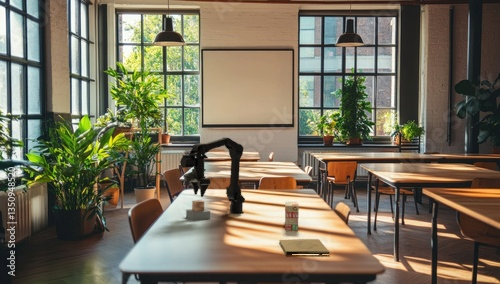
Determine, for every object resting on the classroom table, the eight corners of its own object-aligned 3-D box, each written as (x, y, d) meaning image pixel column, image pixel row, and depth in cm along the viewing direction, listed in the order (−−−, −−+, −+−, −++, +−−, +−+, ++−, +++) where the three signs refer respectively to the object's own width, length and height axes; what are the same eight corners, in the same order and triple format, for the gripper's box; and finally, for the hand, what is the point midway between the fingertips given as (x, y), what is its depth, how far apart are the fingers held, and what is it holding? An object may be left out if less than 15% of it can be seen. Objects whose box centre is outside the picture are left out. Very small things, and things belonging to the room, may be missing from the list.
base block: (203, 215, 276) (203, 208, 276) (210, 218, 267) (210, 211, 267) (186, 216, 271) (186, 209, 271) (192, 220, 263) (192, 212, 262)
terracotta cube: (200, 209, 273) (200, 200, 272) (204, 210, 268) (204, 201, 268) (192, 209, 270) (192, 200, 270) (195, 211, 266) (195, 202, 266)
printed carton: (284, 221, 262) (285, 198, 262) (296, 222, 262) (297, 198, 261) (285, 230, 241) (285, 205, 240) (298, 230, 240) (298, 205, 240)
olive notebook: (279, 243, 215) (279, 238, 215) (319, 244, 216) (319, 238, 216) (285, 257, 194) (285, 251, 194) (329, 257, 195) (329, 251, 195)
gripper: (179, 166, 273) (178, 194, 274) (191, 169, 257) (190, 199, 257) (198, 165, 279) (197, 193, 279) (211, 168, 262) (210, 197, 263)
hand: (198, 195), depth 269 cm, fingers open, 9 cm apart
